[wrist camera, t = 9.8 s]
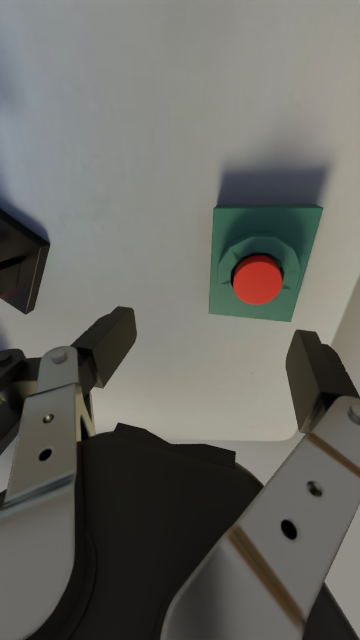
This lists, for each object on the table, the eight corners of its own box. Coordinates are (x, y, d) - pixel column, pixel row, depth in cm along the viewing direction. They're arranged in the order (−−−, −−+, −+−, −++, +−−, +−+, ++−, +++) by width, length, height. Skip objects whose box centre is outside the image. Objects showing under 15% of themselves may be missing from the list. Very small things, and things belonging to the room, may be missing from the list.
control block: (216, 205, 20) (210, 210, 16) (315, 204, 18) (331, 210, 15) (211, 304, 25) (206, 323, 22) (287, 311, 23) (293, 333, 20)
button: (236, 253, 18) (235, 260, 17) (284, 255, 17) (287, 262, 16) (232, 293, 20) (231, 302, 18) (274, 297, 19) (276, 306, 18)
